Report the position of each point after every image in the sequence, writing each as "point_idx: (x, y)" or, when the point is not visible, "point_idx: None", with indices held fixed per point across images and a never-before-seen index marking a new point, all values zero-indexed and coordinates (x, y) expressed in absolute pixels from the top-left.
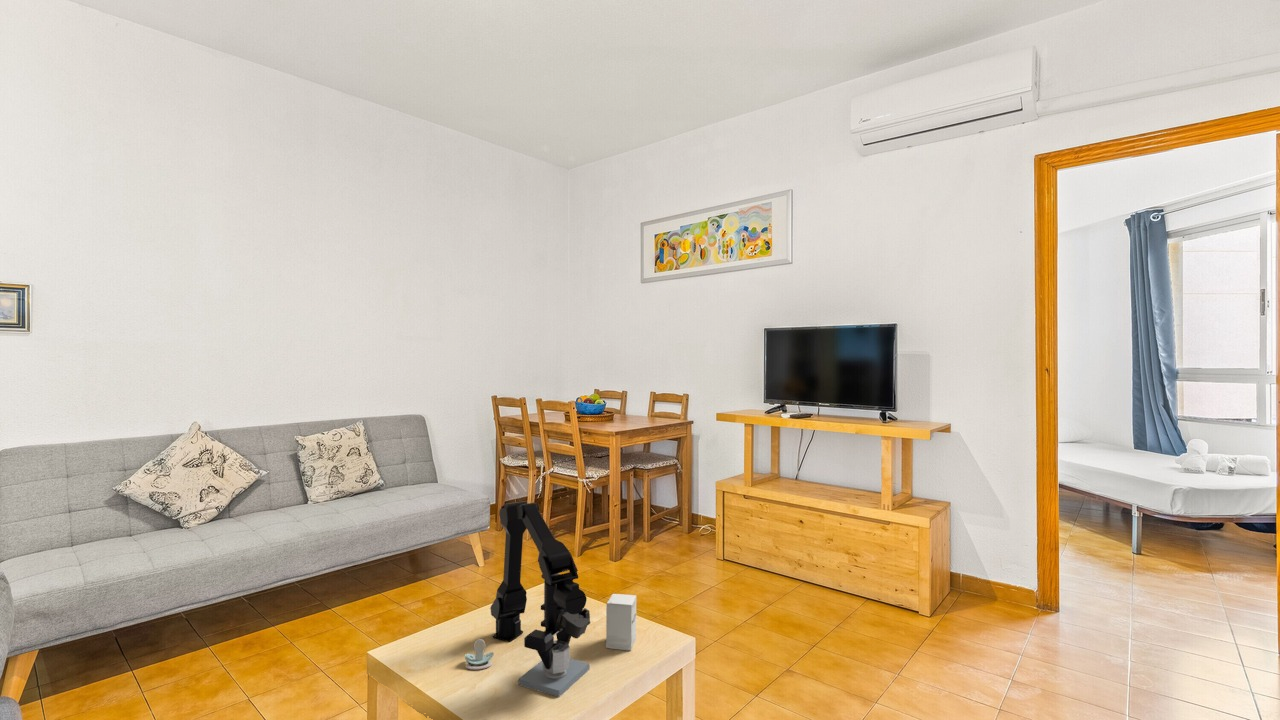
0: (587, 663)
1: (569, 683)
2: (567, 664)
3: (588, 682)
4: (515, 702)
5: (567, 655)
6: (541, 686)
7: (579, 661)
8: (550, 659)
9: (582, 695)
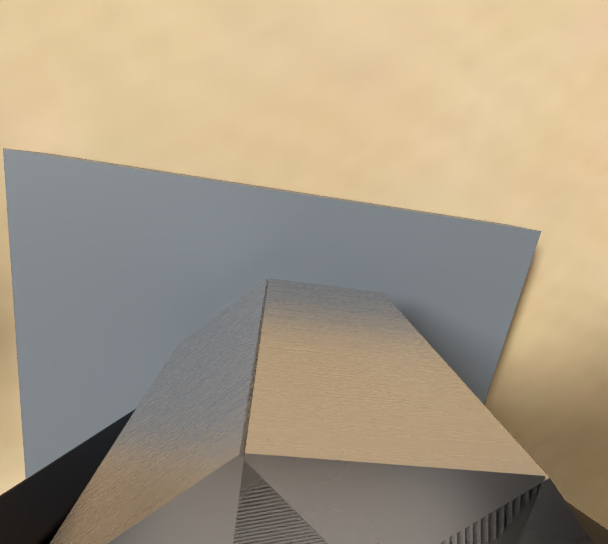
0: (13, 170)
1: (381, 206)
2: (310, 299)
3: (251, 74)
4: (591, 444)
5: (332, 356)
6: (483, 385)
7: (21, 264)
8: (589, 534)
9: (455, 46)
